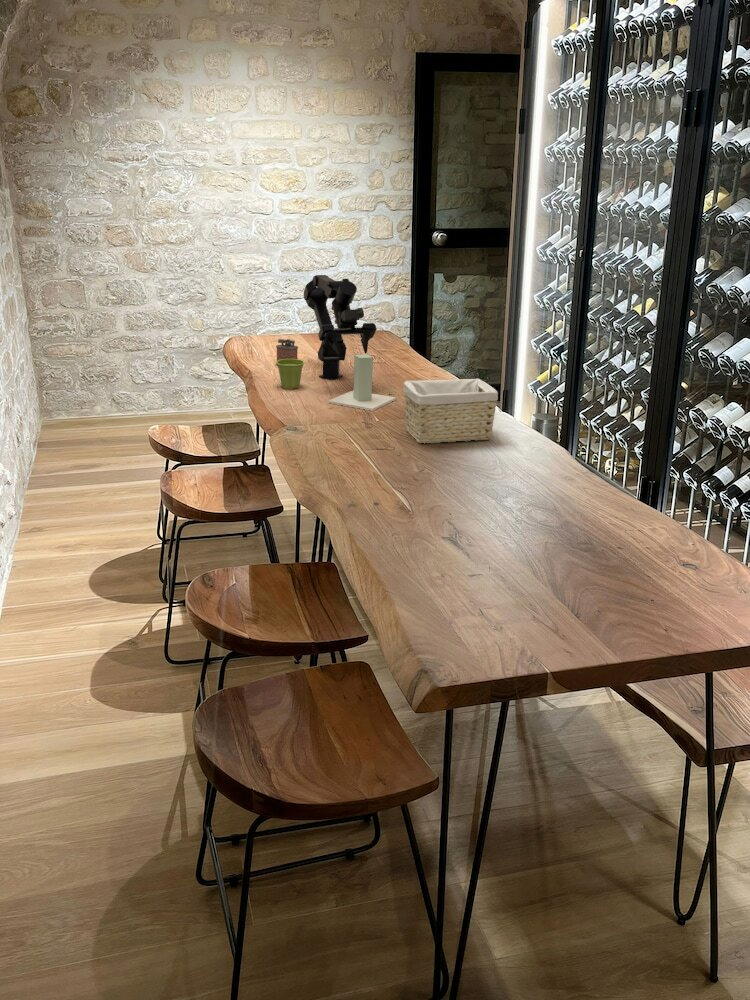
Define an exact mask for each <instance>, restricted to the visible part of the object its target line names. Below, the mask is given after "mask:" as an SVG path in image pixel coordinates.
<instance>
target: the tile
mask: <svg viewBox="0 0 750 1000" xmlns="http://www.w3.org/2000/svg"><path fill="white" fill-rule="evenodd" d="M353 393H354V389H353V390H351V391H348V392H346V393H345V392H344V393H343V394H341V395H339V396H337V397H333V398H332V399H329V400H327V401H328V402H327V403H328V404H330V403H331V405H337V406H341V405H343V407H347V406H349V407H348V408H352V407H354V408H353V409H358V408H360V409H359V410H363V409H365V410H364V411H369V410H370V411H369V412H374V411H376V410H378V409H380V408H382V407H384V406H387V405H389V404H391V403H392V401H393V402H394V401H396V400H397V399H396V398H397V397H395V396H390V395H389V396H388V395H384V394H383V395H382V394H377V393H372V400H370V401H357V400H356V399H354V398H353Z"/></svg>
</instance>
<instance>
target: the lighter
mask: <svg viewBox="0 0 750 1000" xmlns="http://www.w3.org/2000/svg"><path fill="white" fill-rule="evenodd" d="M277 343H278V344H277V345H276V346H275V348H276V361H278V360H281V359H298V350H299V346H298V345H295V344H296V342H295V339H290V338H287V339H285V338H284V339H283V338H278V340H277ZM275 364H276V367H278V365H277V363H275Z"/></svg>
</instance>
